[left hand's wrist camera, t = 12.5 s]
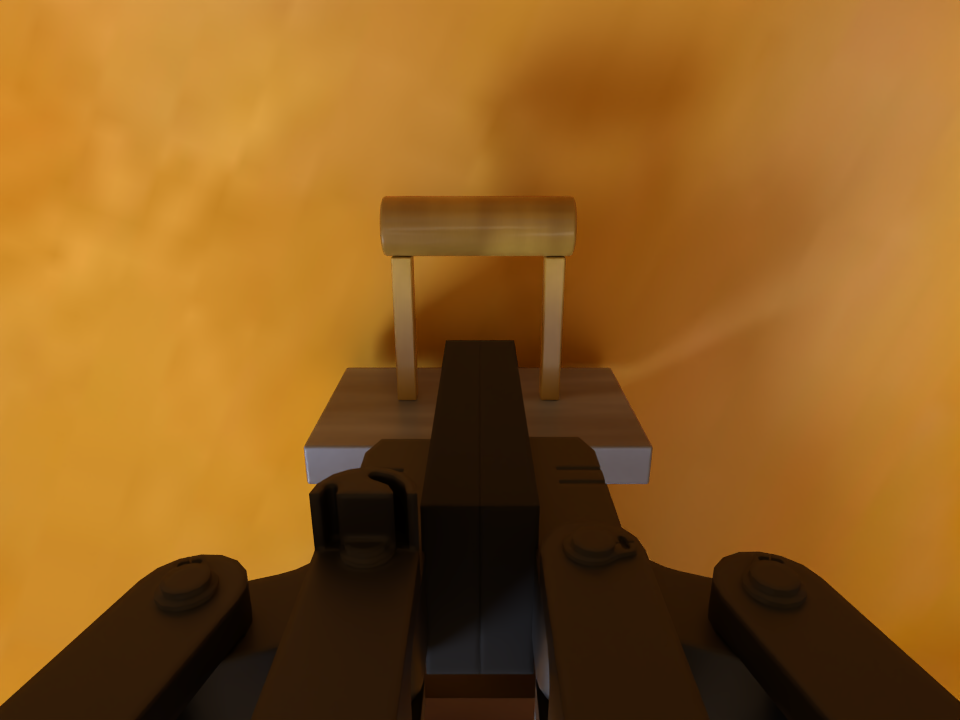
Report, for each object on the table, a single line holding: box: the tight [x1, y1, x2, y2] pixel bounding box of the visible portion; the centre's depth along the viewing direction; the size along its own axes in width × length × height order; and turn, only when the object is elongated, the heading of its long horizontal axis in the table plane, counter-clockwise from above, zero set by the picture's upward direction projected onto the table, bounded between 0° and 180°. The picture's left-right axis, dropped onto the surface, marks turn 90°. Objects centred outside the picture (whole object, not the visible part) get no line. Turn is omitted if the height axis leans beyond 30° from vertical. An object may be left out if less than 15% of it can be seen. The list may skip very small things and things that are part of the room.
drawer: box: [304, 196, 652, 698], centre depth 22 cm, size 23×10×6 cm, turn 0°
